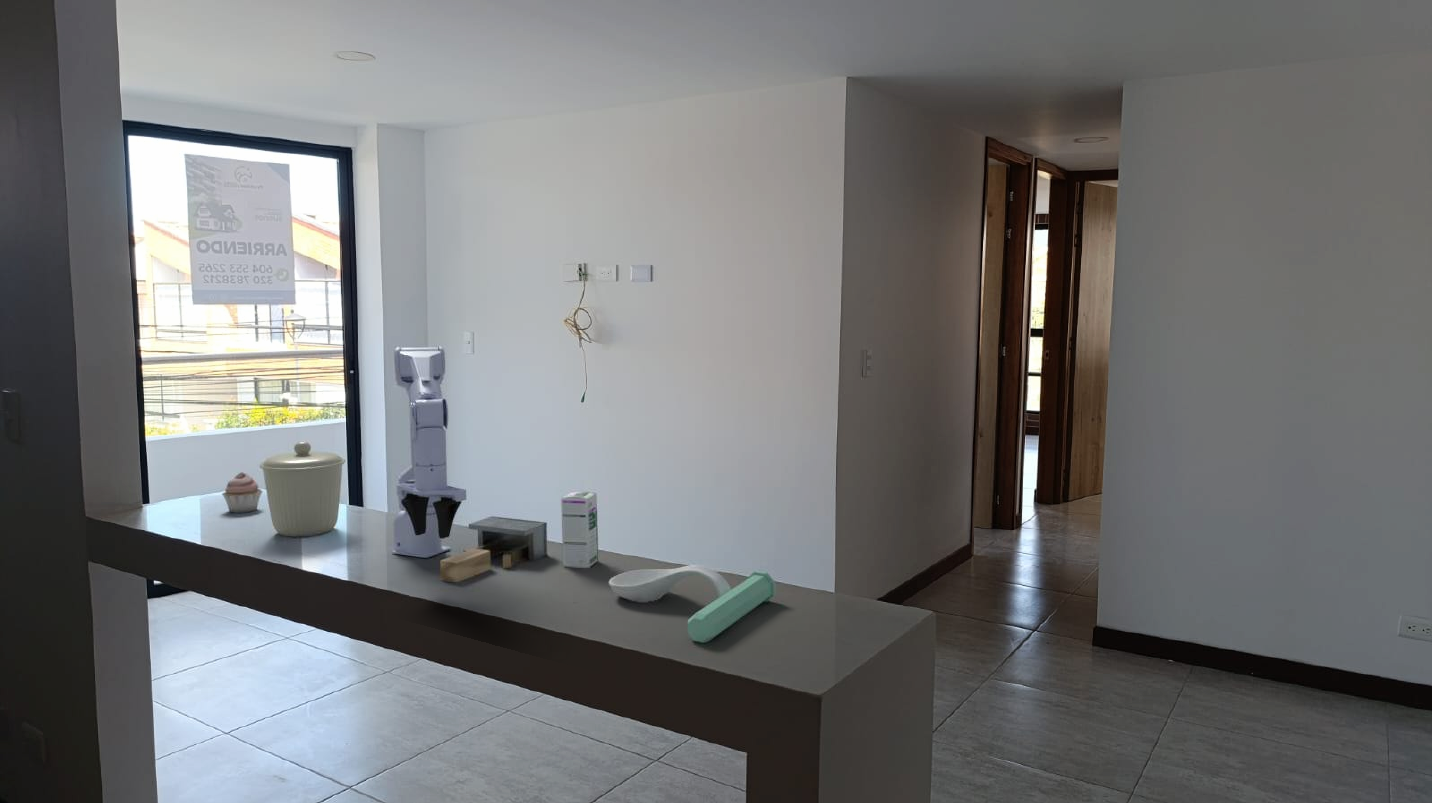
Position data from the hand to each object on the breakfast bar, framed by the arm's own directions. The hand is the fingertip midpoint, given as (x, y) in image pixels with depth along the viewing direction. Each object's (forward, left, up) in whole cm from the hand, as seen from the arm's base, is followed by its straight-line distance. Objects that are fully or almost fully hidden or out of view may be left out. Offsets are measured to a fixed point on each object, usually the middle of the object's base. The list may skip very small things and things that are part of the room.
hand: (432, 535), depth 176 cm
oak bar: (0, +10, -10) cm, 14 cm away
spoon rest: (+44, +11, -10) cm, 46 cm away
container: (+58, +6, -10) cm, 59 cm away
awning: (0, +22, -10) cm, 24 cm away
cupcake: (-87, +32, -10) cm, 94 cm away
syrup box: (+17, +25, -10) cm, 32 cm away
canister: (-55, +22, -10) cm, 60 cm away
